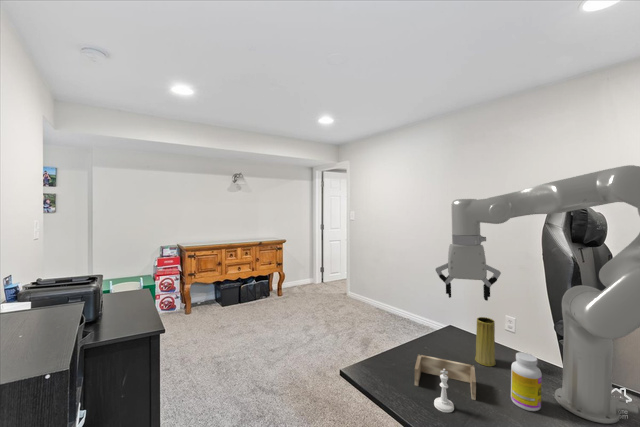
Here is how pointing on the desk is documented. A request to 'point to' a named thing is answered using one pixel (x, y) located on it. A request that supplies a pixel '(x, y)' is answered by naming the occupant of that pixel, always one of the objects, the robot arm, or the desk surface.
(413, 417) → the desk surface
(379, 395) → the desk surface
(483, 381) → the desk surface
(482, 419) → the desk surface
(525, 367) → the supplement bottle
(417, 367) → the open-side wooden frame
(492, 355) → the vase
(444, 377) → the chess piece
